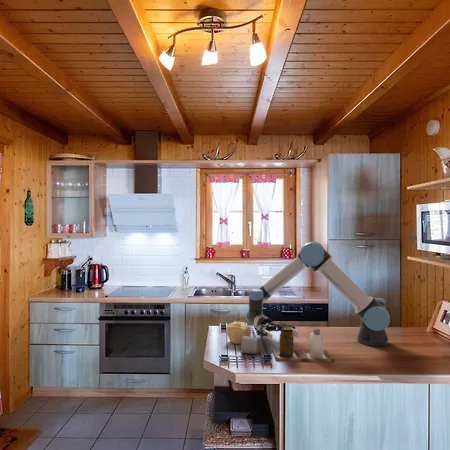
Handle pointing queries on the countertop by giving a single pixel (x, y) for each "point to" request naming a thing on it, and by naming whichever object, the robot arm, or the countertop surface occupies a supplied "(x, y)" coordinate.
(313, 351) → the white bottle
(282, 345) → the condiment
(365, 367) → the countertop surface
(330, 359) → the walnut tray
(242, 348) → the ceramic mug
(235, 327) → the sculpture
